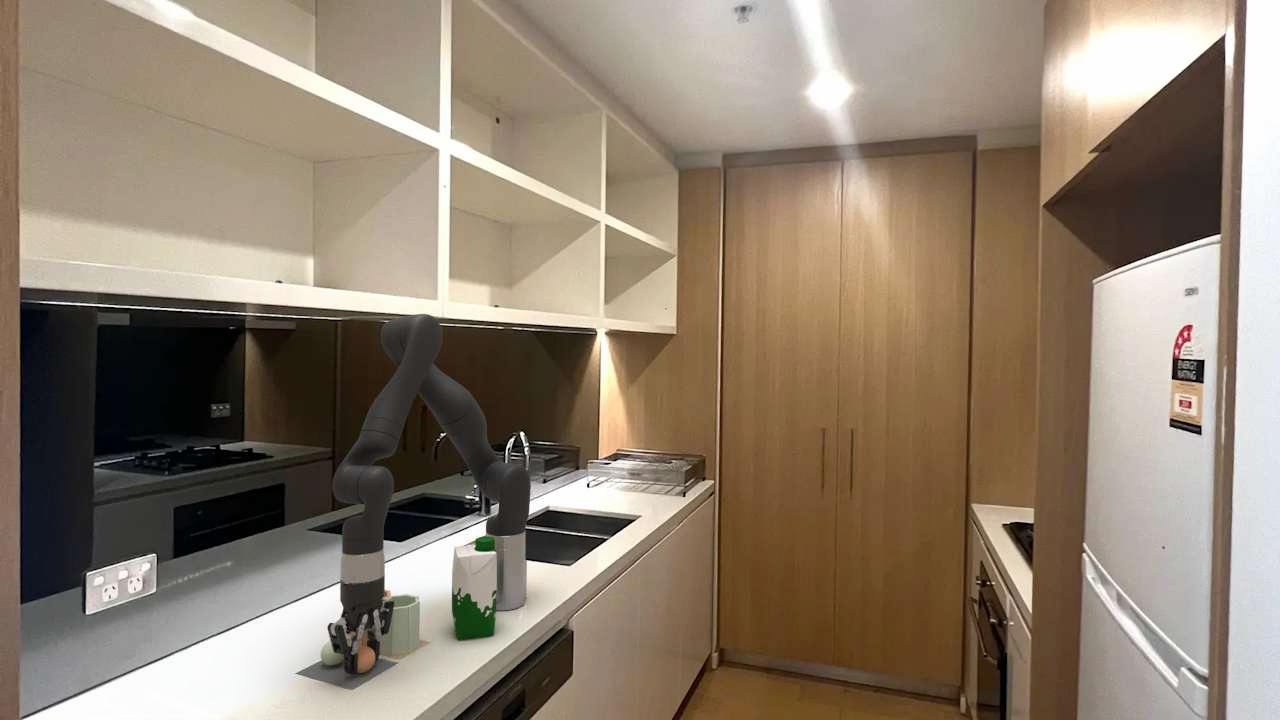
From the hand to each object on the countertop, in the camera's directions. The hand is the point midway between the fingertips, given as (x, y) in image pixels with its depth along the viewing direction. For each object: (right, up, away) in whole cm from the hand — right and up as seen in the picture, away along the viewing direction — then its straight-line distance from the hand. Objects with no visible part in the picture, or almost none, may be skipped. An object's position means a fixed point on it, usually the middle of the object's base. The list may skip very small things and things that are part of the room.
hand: (362, 666), depth 121 cm
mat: (-3, -1, +1) cm, 4 cm away
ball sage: (-6, -1, +3) cm, 7 cm away
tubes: (0, -1, +12) cm, 12 cm away
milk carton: (+16, -2, +18) cm, 24 cm away
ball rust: (0, -1, 0) cm, 1 cm away
